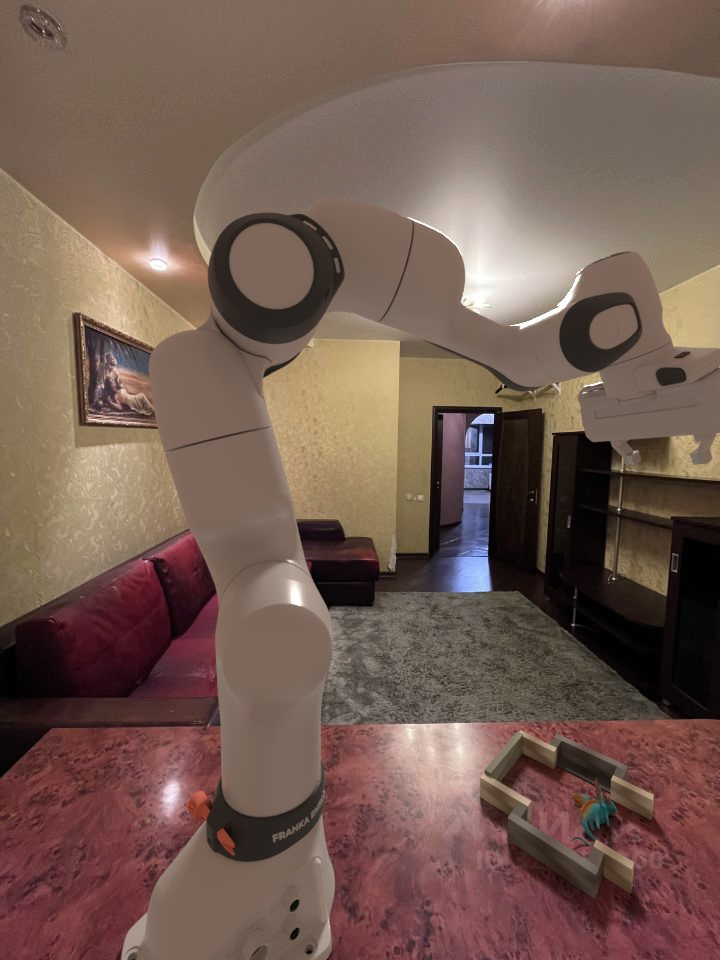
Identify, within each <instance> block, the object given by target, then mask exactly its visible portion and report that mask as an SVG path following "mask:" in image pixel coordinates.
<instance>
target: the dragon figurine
mask: <svg viewBox="0 0 720 960" xmlns="http://www.w3.org/2000/svg"><path fill="white" fill-rule="evenodd" d="M594 787H595V794H596V796H595V798H596V799H595V798H592V799H591V797H590V796H589V795H587V794H583V793H576V794H572V797H573V802H577V806H578V807H580V809H579V819H580V821H581V825H582V827H583V830H584V831H585V833H586V834H587V836H588V837H590V838H591V839H592V840H593V841H594V842H595V841H596V840H597V839H596V838H595V836H594V835H593V834H592V832H591V831H593V832H594V831H595V826H596V828H597V829H598V830H600V829H601V827H600V825H601V824H604V823H606V826H607V827H608V828H610V818H609V816H612V817H613V816H617V815H618V814H619V811H618V809H617V806H616V805H615V803H614V801H613V800H611V799H610V796H608V797H607V795H606V794H605V792H603V791H602V790H603V789H601V787H600V785H599V783H598V780H597V778H596V780H595V785H594ZM601 792H602V794H601ZM601 795H602V796H601ZM588 823H589V826H590V829H591V831H590V829H589V827H588ZM594 823H595V825H594ZM574 840H580V841H582V842H583V843H584V844H586V846H590V847H591V846H592V845H591V843H590V844H589V843H588V842H587V841H586V840H585V839H583V838H582V837H580V836H574V837H572V838H571V842H573V841H574Z"/></svg>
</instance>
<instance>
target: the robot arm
mask: <svg viewBox="0 0 720 960" xmlns="http://www.w3.org/2000/svg"><path fill="white" fill-rule="evenodd" d="M460 251H461V250H460V249H459V247H458V244H456V243H455V242H454V241H453V240H451V238H449V237H448V236H446V235H445V234H444V233H442V231H439V230H438V229H436V228H434V227H432V226H430V225H428V224H425V223H423V222H421V221H418V220H416V219H413V218H411V217H408V216H407V215H403V214H400V213H399V212H396V211H392V210H389V209H386V208H383V207H381V206H377V205H374V204H370V203H366V202H361V201H358V200H352V199H347V198H342V197H341V198H340V197H336V196H327V197H322V198H320V199H318V200H316V201H315V202H314V203H313V204H312V205H311V206H310V207H309V208H308V209H307V210H306V212H305V214H303V213H294V214H284V213H278V212H257V213H256V212H255V213H254V212H253V213H250V214H246V215H244V216H241V217H239V218H236V219H235V220H233V221H232V222H229V224H228V225H227V226H226V227H225V228H223V230H222V232H221V233H220V234H219V236H218V237H217V239H216V241H215V243H214V245H213V247H212V250H211V253H210V256H209V261H208V267H207V283H208V289H209V293H210V313H209V316H208V317H207V319H206V321H205V322H204V323H203V324H201V325H200V326H198V327H196V329H189V330H187V329H186V330H182V331H179V332H176V333H174V334H171V335H169V336H167V337H166V338H165V339H163V340H161V341H160V342H159V343H158V344H157V345H156V346H155V347H154V349H153V350H152V352H151V354H150V357H149V360H148V376H149V385H150V392H151V393H150V394H151V400H152V406H153V412H154V416H155V422H156V426H157V431H158V434H159V438H160V441H161V444H162V448H163V451H164V455H165V458H166V462H167V465H168V468H169V471H170V473H171V478H172V480H173V483H174V486H175V489H176V493H177V496H178V499H179V503H180V505H181V509H182V511H183V515H184V517H185V520H186V521H185V522H186V525H187V528H188V529H189V531H190V533H191V534H192V536H193V537H194V539H195V542H196V543H197V545H198V548H199V551H200V552H201V555H202V557H203V559H204V560H205V563H206V566H207V569H208V570H209V573H210V575H211V579H212V580H213V583H214V586H215V590H216V594H217V601H218V603H217V604H218V614H217V619H216V626H215V634H214V644H215V645H214V646H215V665H216V681H217V682H216V683H217V686H216V687H217V696H218V697H217V699H218V708H219V717H220V718H219V719H220V755H221V756H220V759H221V761H220V762H221V763H220V764H221V766H220V768H221V771H220V772H221V775H220V777H219V781H218V783H217V786H216V787H215V792H214V795H213V798H212V799H211V800H212V801H211V800H210V799H209V798H208V797H207V794H206V793H205V792H204V791H203V790H199V791H196V792H195V793H193V794H192V795H191V797H190V798H189V800H188V801H187V805H186V806H187V807H186V808H187V811H188V812H189V813H190V814H191V815H193V819H194V820H195V821H196V822H200V821H203V820H204V822H203V823H202V824H201V825H200V826H199V827H198V829H197V830H196V831H195V832H194V834H193V836H192V837H191V838H190V839H189V840H188V841H187V843H186V845H185V846H184V847H183V848H182V849H181V851H180V852H179V853H178V855H176V857H175V858H174V860H172V862H171V863H170V865H169V866H168V867H167V868H166V869H165V870H164V872H163V873H162V874H161V875H160V877H159V878H158V879H157V881H156V883H155V885H154V887H153V889H152V893H151V896H150V900H149V904H148V907H147V912H146V913H145V914H143V916H142V917H140V918H139V919H138V920H137V921H136V922H135V923H134V924H133V925H132V926H131V927H130V928H129V930H128V931H127V933H126V936H125V937H124V942H123V946H122V950H121V954H120V960H327V959H328V958H329V956H330V955H331V953H332V945H333V944H332V943H333V941H332V931H331V923H330V922H331V920H330V917H331V911H332V907H333V904H334V899H335V890H336V880H335V878H336V877H335V871H334V867H333V864H332V860H331V858H330V855H329V852H328V848H327V847H328V846H327V842H326V836H325V834H326V833H325V828H324V819H323V812H324V807H325V803H326V802H325V801H326V799H325V798H326V791H325V788H326V787H325V784H326V783H325V767H324V764H323V760H322V758H321V757H322V754H321V752H322V751H321V750H322V749H321V748H322V747H321V746H322V744H321V743H322V739H321V738H322V735H321V734H322V732H321V731H322V727H321V726H322V725H321V724H322V722H321V719H322V717H321V716H322V703H323V694H324V689H325V685H326V677H327V674H328V671H329V668H330V665H331V663H332V659H333V658H332V657H333V630H332V622H331V616H330V611H329V609H328V606H327V604H326V603H325V601H324V598H323V597H322V595H321V594H320V591H319V589H318V588H317V586H316V584H315V582H314V579H313V578H312V575H311V573H310V570H309V567H308V565H307V561H306V557H305V553H304V549H303V545H302V541H301V536H300V533H299V528H298V523H297V517H296V512H295V508H294V503H293V497H292V492H291V490H290V486H289V482H288V478H287V476H286V471H285V467H284V464H283V461H282V457H281V454H280V449H279V446H278V442H277V439H276V435H275V432H274V428H273V423H272V420H271V417H270V415H269V411H268V407H267V404H266V403H267V402H266V400H265V393H264V379H265V378H266V377H268V376H270V375H271V374H273V373H275V372H278V371H279V370H280V369H283V368H284V367H286V366H288V365H290V364H291V363H292V362H293V361H294V360H296V358H297V357H298V356H299V355H300V354H301V353H302V351H303V350H304V349H305V348H306V347H307V346H308V344H309V343H310V342H311V340H312V339H313V338H314V336H315V333H316V331H317V328H318V326H319V323H320V322H321V320H322V319H323V318H324V316H325V315H326V314H327V313H328V314H329V313H336V312H338V313H339V312H341V313H342V312H343V313H349V314H355V315H357V316H360V317H362V318H364V319H368V320H370V321H373V322H374V323H375V322H376V323H378V324H380V325H381V324H382V325H384V326H387V327H389V328H393V329H396V330H398V331H401V332H404V333H407V334H410V335H413V336H415V337H417V338H419V339H421V340H423V341H424V342H426V343H428V344H430V345H432V346H435V347H437V348H438V349H442V351H446V352H448V353H451V354H452V355H454V356H457V357H459V358H462V359H464V360H466V361H468V362H471V363H472V364H476V365H478V366H480V367H482V368H483V369H485V370H487V371H488V372H490V373H491V374H492V375H493V376H494V377H496V379H497V380H499V382H501V383H502V384H503V385H504V386H506V387H507V388H509V389H511V390H513V391H516V392H520V393H524V392H525V393H526V392H531V391H534V390H537V389H540V388H542V387H546V386H548V385H553V384H558V383H561V382H567V381H571V380H575V379H579V378H582V377H588V376H591V375H593V374H596V373H598V374H599V377H600V379H601V381H599V382H597V383H593V384H587V385H584V386H583V387H582V389H581V390H580V391H579V392H578V395H577V401H578V403H579V406H580V416H581V420H582V421H581V422H582V426H583V429H584V433H585V436H586V438H587V439H588V440H590V442H592V443H599V442H610V445H611V447H612V448H613V449H614V450H615V451H616V452H617V453H618V454H619V455H620V456H622V459H623V462H624V465H626V466H634V465H635V466H637V465H638V464H640V463H641V461H642V457H641V456H640V455H641V454H640V451H639V450H633V448H632V447H631V446H630V445H629V443H627V442H628V441H629V440H640V439H643V440H644V439H654V438H655V439H656V438H667V437H668V438H669V437H670V438H671V437H682V436H685V437H686V436H693V439H694V441H695V442H696V443H697V442H699V445H698V447H697V448H695V449H694V450H693V451H691V452H689V456H690V459H692V460H691V463H692V465H708V464H709V463H710V462H712V459H713V456H712V453H711V449H710V448H712V445H713V443H714V441H715V439H716V436H717V434H720V348H719V347H689V346H688V347H687V346H674V344H673V343H674V342H673V339H672V337H671V335H670V334H669V332H668V331H667V329H666V328H665V326H664V322H663V312H664V311H663V308H664V307H663V303H662V300H661V298H660V293H659V291H658V287H657V285H656V283H655V280H654V278H653V275H652V273H651V271H650V268H649V266H648V265H647V263H646V261H645V260H644V258H643V257H642V255H641V254H640V253H638V252H636V251H622V252H618V253H617V252H616V253H614V254H610V255H608V256H606V257H603V258H600V259H598V260H596V261H593V262H592V263H588V264H587V265H585V266H584V267H583V268H581V269H580V270H579V271H578V272H576V274H575V277H574V283H573V285H572V288H571V289H570V291H569V292H568V293H567V295H566V296H565V298H563V299H562V301H560V302H559V303H558V304H557V305H556V308H554V309H552V310H550V311H549V312H546V313H544V314H542V315H540V316H538V317H536V318H535V317H534V318H533V319H532V320H529V321H526V322H522V323H518V324H512V325H504V324H500V323H498V322H496V321H495V320H492V319H490V318H488V317H487V316H484V315H482V314H480V313H478V312H476V311H474V310H472V309H470V308H468V307H466V306H465V304H463V303H462V299H463V296H464V291H465V285H466V268H465V262H464V258H463V256H462V255H463V254H462V252H460ZM309 951H311V953H309V954H308V953H307V952H309Z"/></svg>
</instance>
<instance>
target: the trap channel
mask: <svg viewBox="0 0 720 960" xmlns="http://www.w3.org/2000/svg"><path fill="white" fill-rule="evenodd" d="M522 755H524V756H527V757H529V758H531V759H533V760H534V761H536V762H539V763H541V764H543V765H545V766H546V767H547V768H550V769H552V770H555V768H556V767H558V768H560V769H563V770H564V771H566V772H569V773H570V774H573V775H575V776H576V777H578V778H580V779H582V780H584V781H586V782H588V783H589V784H591V785H593V786H595V780H596V778H597V780H598V783H599V785H600V787H601V789H602V790H603V791H606V792H607V793H609V794H610V796H609V799H610V800H611V801H612V802H615V803H616V804H618V805H620V806H623V807H624V808H627V809H628V810H630V811H632V812H635V813H636V814H638V815H640V816H642V817H644V818H646V819H647V820H649V821H652V819H653V816H654V815H653V814H654V801H655V799H654V797H655V795H654V794H653V793H651V792H648V791H647V790H644V789H642V788H641V787H638V786H636V785H634V784H632V783H631V782H628V773H629V771H628V770H629V766H628V765H626V764H624V763H622V762H621V761H620V762H619V761H617V760H615V759H612V758H611V757H609V756H606V755H604V754H602V753H600V752H597V751H596V750H593V749H591V748H589V747H587V746H585V745H582V744H580V743H578V742H576V741H574V740H572V739H569V738H567V737H565V736H563V735H561V734H559V733H556V734H555V736H554V737H553V738H552V740H551V741H550V743H547V742H546V741H544V740H542V739H539V738H538V737H535V736H533V735H531V734H529V733H526V732H525V731H523V730H521V729H520V730H519V731H516V732H515V734H514V735H513V736H512V737H511V738H510V739H509V740H508V741H507V743H506V744H505V745H504V746H503V747H502V748H501V749H500V751H499V752H498V753H497V754H496V755H495V757H494V758H493V759H492V760H491V761H490V762H489V764H488V765H487V766H486V767H485V768H484V772H483V773H482V775H481V776H480V781H479V782H480V783H479V798H481V799H483V800H484V801H486V802H487V803H489V804H491V805H492V806H494V807H495V808H497V809H498V810H500V811H501V812H503V813H505V814H506V815H508V817H507V826H506V827H507V828H506V830H507V832H506V834H507V835H506V839H507V840H508V841H509V842H511V844H514V845H515V846H516V847H518V848H520V849H521V850H522V851H523V852H525V853H526V854H528V855H529V856H531V857H532V858H534V859H535V860H537V861H538V860H539V861H538V862H540V863H541V862H542V863H541V864H543V865H544V864H545V865H547V866H548V867H549V868H548V867H547V866H546V867H547V868H548V869H549V870H551V871H553V872H554V873H555V874H557V875H559V876H560V877H562V878H563V879H564V880H566V881H567V882H569V883H570V884H572V885H573V886H575V887H576V888H577V889H579V890H580V891H582V892H583V893H585V894H586V895H588V897H590V898H592V899H594V900H596V898H597V895H598V892H599V889H600V887H601V884H602V881H603V878H605V879H607V880H608V881H610V882H611V883H613V884H615V885H616V886H617V887H619V888H621V889H623V891H625V892H627V893H629V894H632V891H633V887H634V871H635V870H634V869H635V861H633V860H631V859H629V858H628V857H626V856H624V855H623V854H621V853H619V852H618V851H616V850H614V849H612V848H611V847H609V846H607V845H606V844H604V843H603V842H601V841H599V840H597V839H596V841H594V843H593V846H592V849H591V851H590V854H589V856H588V858H585V857H583V856H581V855H580V854H578V853H577V852H575V851H574V850H572V849H571V848H569V847H568V846H566V845H565V844H563V843H561V842H559V841H558V840H557V839H555V838H553V837H552V836H550V835H549V834H547V833H546V832H544V831H542V830H541V829H539V828H537V827H536V826H535V825H533V824H531V817H532V816H531V815H532V814H531V813H532V800H530V799H528V798H527V797H526V796H523V795H522V794H520V793H519V792H517V791H516V790H514V789H512V788H510V787H508V786H507V785H505V784H504V783H502V781H503V779H505V777H506V776H507V774H508V773H509V772H510V770H511V769H512V768H513V767H514V765H515V764H516V763H517V762H518V760H519V759H520V758H521V756H522ZM545 865H544V866H545Z"/></svg>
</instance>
